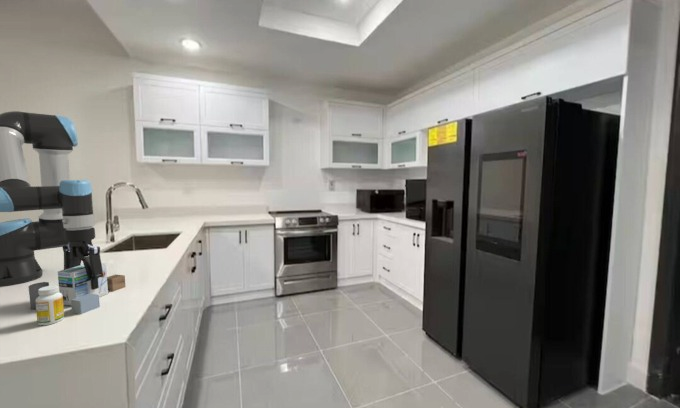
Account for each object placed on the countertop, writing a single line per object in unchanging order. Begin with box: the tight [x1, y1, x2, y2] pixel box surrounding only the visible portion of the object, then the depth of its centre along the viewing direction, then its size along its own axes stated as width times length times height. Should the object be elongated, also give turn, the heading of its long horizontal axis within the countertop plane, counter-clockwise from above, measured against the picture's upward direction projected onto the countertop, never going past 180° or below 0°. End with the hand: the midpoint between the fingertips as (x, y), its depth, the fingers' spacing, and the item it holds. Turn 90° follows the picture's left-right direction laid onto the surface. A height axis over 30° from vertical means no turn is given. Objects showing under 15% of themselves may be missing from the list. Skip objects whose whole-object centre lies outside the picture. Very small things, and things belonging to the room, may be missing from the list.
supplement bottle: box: [35, 284, 65, 326], centre depth 82 cm, size 5×5×10 cm
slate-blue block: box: [70, 293, 101, 315], centre depth 89 cm, size 4×5×4 cm
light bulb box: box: [57, 262, 109, 306], centre depth 97 cm, size 11×7×11 cm, turn 168°
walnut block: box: [107, 274, 126, 292], centre depth 106 cm, size 4×4×4 cm
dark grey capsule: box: [28, 281, 50, 311], centre depth 92 cm, size 4×4×7 cm
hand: (85, 297), depth 97 cm, fingers closed on light bulb box, 7 cm apart
